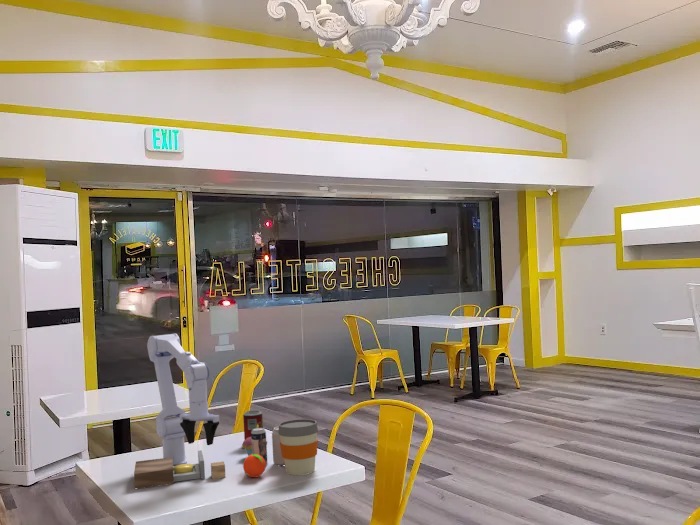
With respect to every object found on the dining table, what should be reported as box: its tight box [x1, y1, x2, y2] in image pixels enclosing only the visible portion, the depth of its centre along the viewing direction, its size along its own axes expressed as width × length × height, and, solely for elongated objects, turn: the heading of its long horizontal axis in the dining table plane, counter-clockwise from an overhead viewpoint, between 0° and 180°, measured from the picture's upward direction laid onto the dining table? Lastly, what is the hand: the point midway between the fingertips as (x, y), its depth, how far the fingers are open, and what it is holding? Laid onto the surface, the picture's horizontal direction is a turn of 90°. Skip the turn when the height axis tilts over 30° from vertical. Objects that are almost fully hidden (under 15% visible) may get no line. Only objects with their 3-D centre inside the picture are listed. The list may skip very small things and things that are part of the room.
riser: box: [210, 460, 226, 480], centre depth 208 cm, size 4×4×4 cm
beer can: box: [251, 427, 268, 466], centre depth 217 cm, size 5×5×12 cm
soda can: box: [242, 410, 264, 441], centre depth 247 cm, size 7×7×12 cm
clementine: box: [242, 454, 267, 478], centre depth 205 cm, size 8×7×7 cm
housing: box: [133, 457, 175, 489], centre depth 208 cm, size 15×11×4 cm
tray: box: [173, 450, 206, 483], centre depth 211 cm, size 14×12×6 cm
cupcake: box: [241, 425, 268, 457], centre depth 229 cm, size 9×8×12 cm
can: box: [271, 425, 285, 467], centre depth 219 cm, size 8×8×12 cm
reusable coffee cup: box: [278, 418, 319, 476], centre depth 209 cm, size 12×13×15 cm
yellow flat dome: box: [173, 463, 193, 474], centre depth 211 cm, size 6×6×2 cm
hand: (200, 443), depth 212 cm, fingers open, 7 cm apart
